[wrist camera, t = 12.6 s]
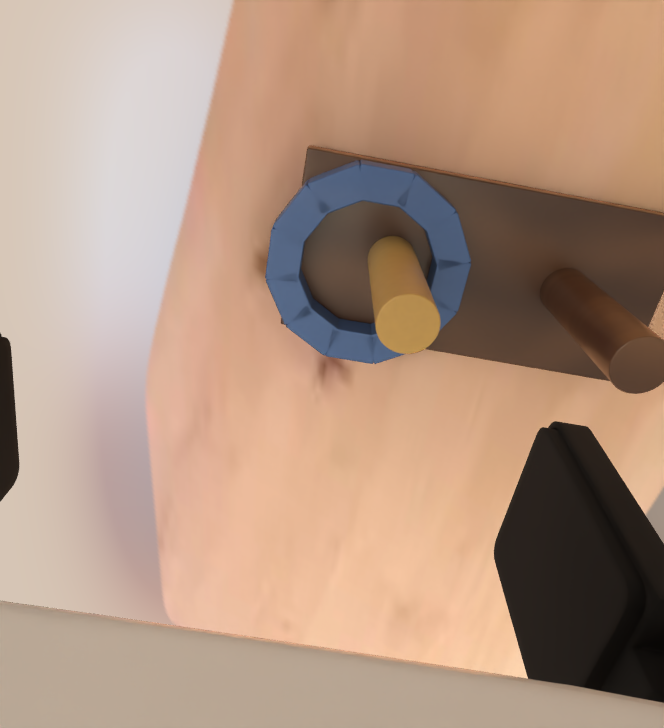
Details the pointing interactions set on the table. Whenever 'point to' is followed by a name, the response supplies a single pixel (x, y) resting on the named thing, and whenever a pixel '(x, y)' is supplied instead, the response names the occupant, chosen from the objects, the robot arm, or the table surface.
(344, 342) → the ring
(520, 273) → the rack
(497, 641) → the table surface
